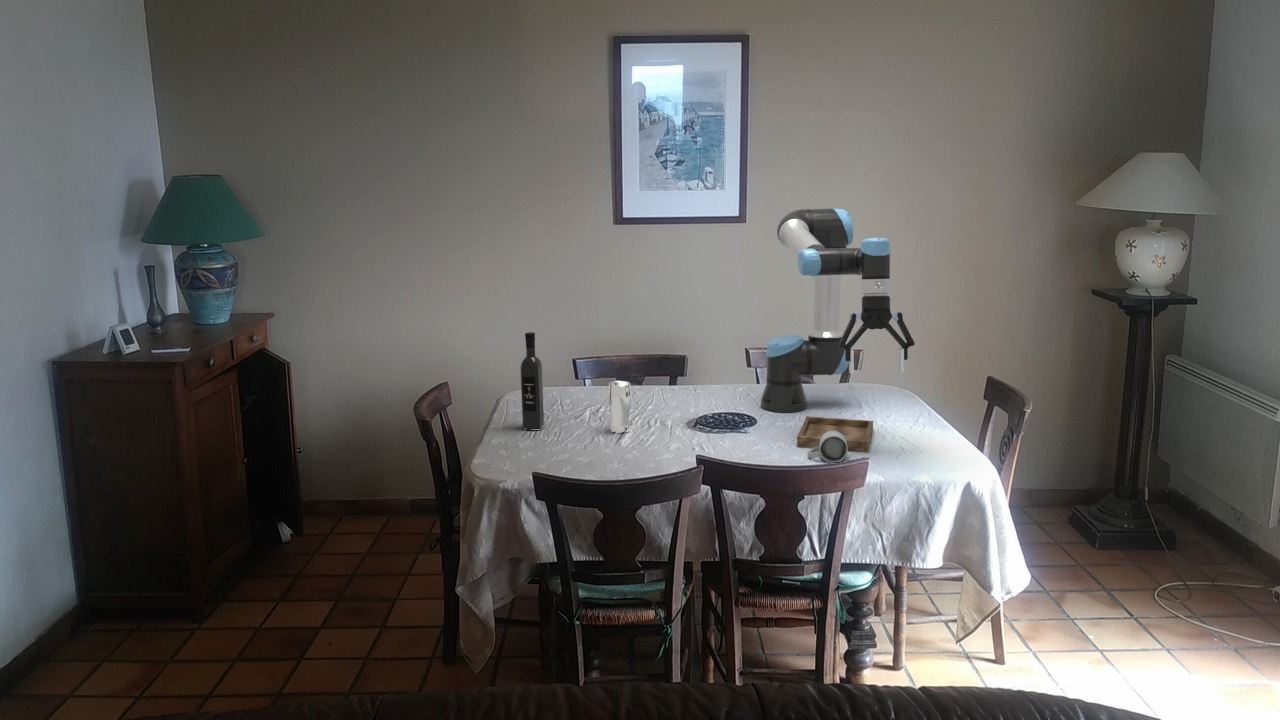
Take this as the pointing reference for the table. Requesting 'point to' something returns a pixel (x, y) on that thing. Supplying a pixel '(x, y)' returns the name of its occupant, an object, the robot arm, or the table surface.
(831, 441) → the ceramic mug
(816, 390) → the table surface
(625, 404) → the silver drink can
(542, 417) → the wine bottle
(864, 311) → the robot arm
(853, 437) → the walnut tray
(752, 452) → the table surface
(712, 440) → the table surface
